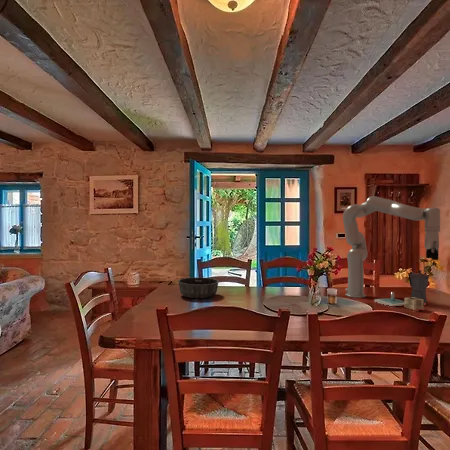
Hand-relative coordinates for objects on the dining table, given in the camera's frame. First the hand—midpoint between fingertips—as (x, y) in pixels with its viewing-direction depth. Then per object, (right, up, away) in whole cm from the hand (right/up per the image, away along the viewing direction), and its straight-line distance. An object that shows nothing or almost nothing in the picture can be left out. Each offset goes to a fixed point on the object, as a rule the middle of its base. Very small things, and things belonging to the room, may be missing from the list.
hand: (432, 259), depth 192 cm
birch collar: (-14, -27, -7) cm, 32 cm away
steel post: (-20, -25, +6) cm, 33 cm away
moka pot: (-4, -28, +8) cm, 29 cm away
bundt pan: (-136, -26, +23) cm, 141 cm away
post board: (-20, -27, +6) cm, 34 cm away
